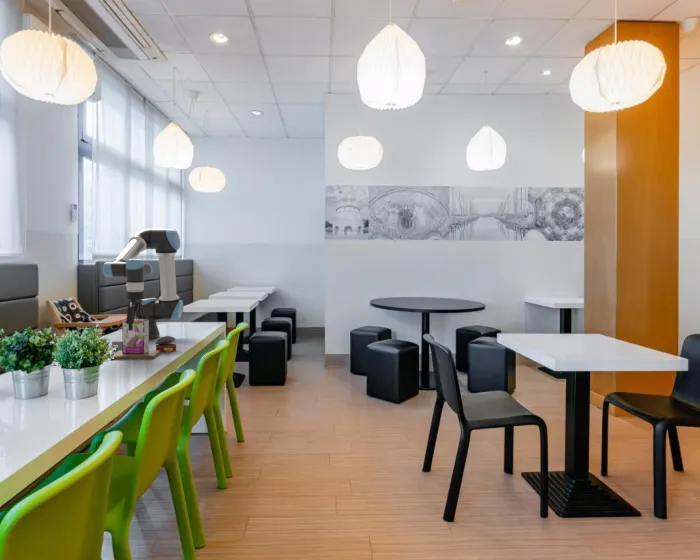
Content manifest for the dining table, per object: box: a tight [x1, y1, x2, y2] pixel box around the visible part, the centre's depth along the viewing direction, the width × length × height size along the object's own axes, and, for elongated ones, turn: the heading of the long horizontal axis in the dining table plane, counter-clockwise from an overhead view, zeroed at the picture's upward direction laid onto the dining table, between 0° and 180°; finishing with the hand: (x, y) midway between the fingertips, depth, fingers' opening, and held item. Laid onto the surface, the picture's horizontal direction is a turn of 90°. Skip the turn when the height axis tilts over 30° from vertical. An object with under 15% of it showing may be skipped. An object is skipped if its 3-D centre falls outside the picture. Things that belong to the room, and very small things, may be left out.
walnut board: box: [112, 349, 162, 361], centre depth 229 cm, size 14×20×2 cm
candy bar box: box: [121, 319, 150, 354], centre depth 228 cm, size 11×5×16 cm, turn 86°
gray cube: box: [111, 339, 122, 352], centre depth 243 cm, size 5×5×5 cm
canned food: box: [154, 335, 177, 354], centre depth 243 cm, size 11×10×10 cm
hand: (135, 334), depth 229 cm, fingers open, 13 cm apart
